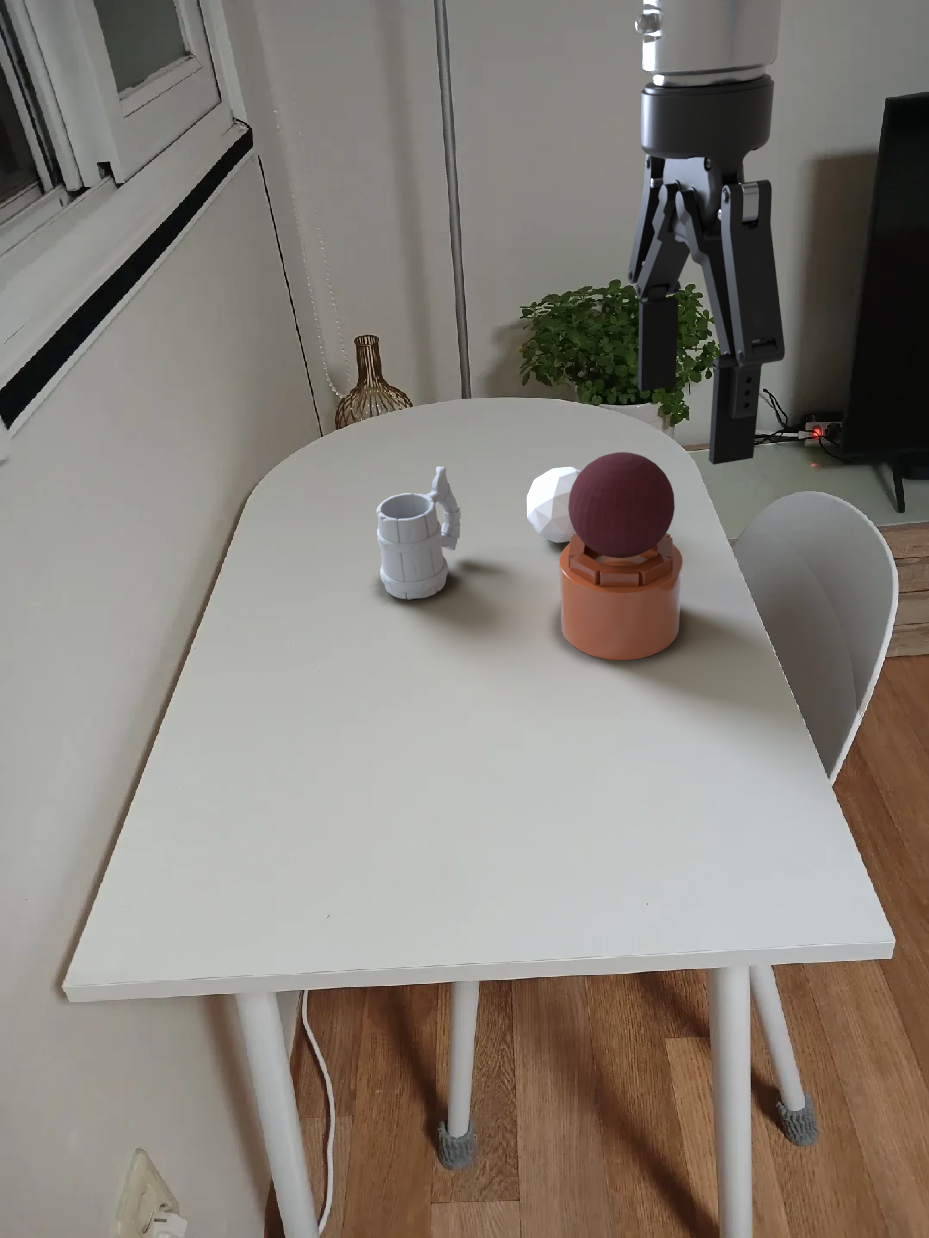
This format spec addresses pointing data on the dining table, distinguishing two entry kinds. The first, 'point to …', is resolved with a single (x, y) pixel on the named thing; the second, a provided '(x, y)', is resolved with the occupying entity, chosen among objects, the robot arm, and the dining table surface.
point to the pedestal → (620, 600)
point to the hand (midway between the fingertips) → (690, 420)
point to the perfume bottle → (552, 504)
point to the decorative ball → (621, 505)
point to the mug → (417, 539)
